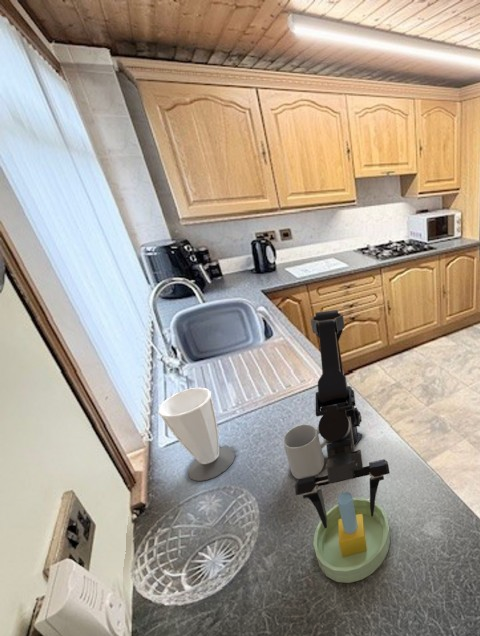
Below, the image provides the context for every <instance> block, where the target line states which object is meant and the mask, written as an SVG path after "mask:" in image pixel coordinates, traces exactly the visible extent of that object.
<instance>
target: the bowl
mask: <svg viewBox="0 0 480 636" xmlns="http://www.w3.org/2000/svg"><path fill="white" fill-rule="evenodd" d="M352 499H353V504H354V509H355V514H356V515H358V514H362V515H363V521H364V526H365V535H366V545H367V551H365V552H361V553H357V554H354V555H350V556H346V557H342V553H341V549H340V545H339V525H338V520H339V519H341V514H340V510H339V505H338V503H337V504H335V505H334V506H333V507H331V508H330V509H328V511H326V516H327V528H324V525H323V523H322V521H321V520H319V522H318V524H317V527H316V529H315V532H314V535H313V549H314V552H315V556H316V560H317V562H318V566H319V568H320V570H321V572H323V574H324V575H325V576H326V577H327V578H329V579H330V580H333V581H334V582H336V583H344V584H345V583H346V584H351V583H354V582H357V581H362V580H363V579H365V578H367V577H369V576H371V574H374V572H375V571H377V569H378V568H379V567H380V566H382V564H383V562H384V560H385V558H386V556H387V554H388V553H389V548H390V544H391V533H390V525H389V517H388V516H387V514H386V511H385V510H384V508H383V507H382V506H380V504H378V503H377V501H375V505H374V513H373V516H372V517H371V511H370V498H366V497H354V498H353V497H352Z"/></svg>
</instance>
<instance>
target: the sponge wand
mask: <svg viewBox="0 0 480 636" xmlns="http://www.w3.org/2000/svg"><path fill="white" fill-rule="evenodd" d="M337 504H338V505H339V510H340V514H341V519H339V520H338V525H339V545H340V549H341V553H342V557H346V556H350V555H354V554H357V553H361V552H365V551H367V545H366V535H365V526H364V521H363V515H362V514H358V515H356V514H355V509H354V504H353V495H352V493H351V492H350V491H343V492H341V493H340V494H339V495H338V497H337Z"/></svg>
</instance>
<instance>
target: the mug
mask: <svg viewBox="0 0 480 636" xmlns="http://www.w3.org/2000/svg"><path fill="white" fill-rule="evenodd" d="M319 435H320V433H319V429H318V426H317V427H315V426H314V425H312V424H307V423H306V424H305V423H303V424H298V425H296V426H294V427H292V428H291V429H289V430H288V431H287V432H285V434H284V436H283V439H282V444H283V448H284V451H285V454H286V458H287V461H288V464H289V468H290V472H291V475H292V476H293V477H294V478H296V479H297V480H298V479H300V478H302V477H307V476H311V475H315V474H318V475H319V473H320V472H321V471H322V470H323V468H324V466H325V457H324V453H323V448H325V446H326V439H324V438H323V439H322V440H321V441H320V436H319Z"/></svg>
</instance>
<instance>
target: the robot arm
mask: <svg viewBox="0 0 480 636" xmlns="http://www.w3.org/2000/svg"><path fill="white" fill-rule="evenodd" d="M314 315H315V316H312V317H311V318H310V324H311V330H312V334H315V335H316V336H317V338H318V339H319V349H320V350H319V351H320V361H321V369H322V370H321V373H322V374H321V375H320V377H319V379H318V380H317V391H316V392H315V417H321V418H320V419H319V421H318V426H317V427H318V429H319V435H320V436H321V437H322V438H323V439H326V445H325V446H326V454H327V459H326V466H325V468H326V474H327V475H323V476H319V473H318V474H315V475H311V476H307V477H302V478H300V479H297V480H296V481H295V483H294V491H295V492H294V494H295V496H299V495H302V498H303V499H308V500H309V501H310V502H311V503H312V505H313V506H314V509H315V510H316V512H317V514H318V517H319V518H320V521H322V523H323V525H324V528H327V516H326V513H327V511H326V505H325V500H324V496H323V489H322V488H320V487H323V486H327V485H333V484H336V483H340V482H345V481H349V480H353V479H358V478H361V477H366V476H369V500H370V511H371V517H372V516H373V513H374V505H375V502H376V497H377V492H378V487H379V484H380V481H383V480H385V475H386V476H387V475H389V474H390V466H389V461H387V460H386V459H384V458H382V459H378V460H374V461H370V462H368V465H367V466H366V465H365V466H364V463H363V457H362V450H361V449H358V450H356V447H355V446H356V445H357V443H358V442H359V441H360V440H361V438H363V434H362V433H361V432H358V427H360V426H361V423H362V415H361V412H360V411H359V409H358V407H357V406H356V397H355V390H354V389H353V387H352V386H351V385H349V384H348V382H347V381H348V380H347V378H346V376H345V373H344V367H343V366H344V365H343V359H342V354H341V353H342V352H341V345H340V340H341V338H342V335H343V333H344V329H345V319H344V313H343V312H339V310H338V309H331V310H325V311H317V312H315V313H314Z"/></svg>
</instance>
